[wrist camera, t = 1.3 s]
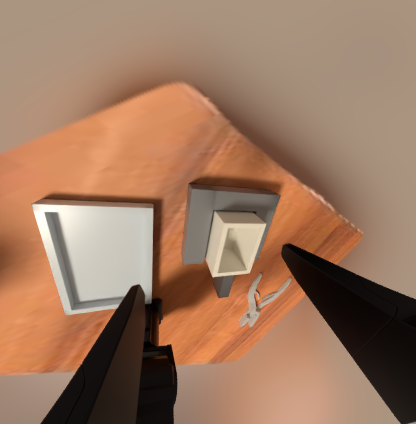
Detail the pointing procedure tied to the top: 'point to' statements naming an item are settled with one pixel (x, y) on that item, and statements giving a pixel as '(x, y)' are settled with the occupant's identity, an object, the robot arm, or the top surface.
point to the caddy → (232, 246)
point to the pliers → (253, 310)
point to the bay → (220, 200)
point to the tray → (97, 250)
